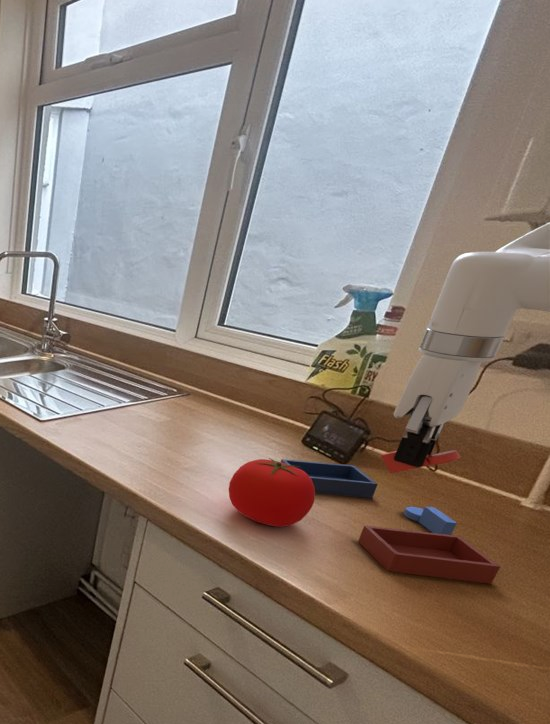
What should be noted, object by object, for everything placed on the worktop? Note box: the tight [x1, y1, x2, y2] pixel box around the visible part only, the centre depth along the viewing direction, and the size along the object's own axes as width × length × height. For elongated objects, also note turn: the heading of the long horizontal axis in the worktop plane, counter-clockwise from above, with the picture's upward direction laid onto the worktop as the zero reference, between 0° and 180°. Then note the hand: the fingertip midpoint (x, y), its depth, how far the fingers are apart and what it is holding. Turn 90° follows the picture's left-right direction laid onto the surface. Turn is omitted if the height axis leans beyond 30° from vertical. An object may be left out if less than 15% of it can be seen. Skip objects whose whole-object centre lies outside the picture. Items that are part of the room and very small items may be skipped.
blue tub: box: [280, 458, 379, 499], centre depth 100 cm, size 12×8×3 cm, turn 76°
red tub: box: [357, 525, 501, 585], centre depth 78 cm, size 12×8×3 cm, turn 76°
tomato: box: [228, 457, 316, 527], centre depth 88 cm, size 11×12×10 cm
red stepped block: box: [380, 449, 461, 474], centre depth 79 cm, size 8×3×3 cm
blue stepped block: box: [403, 506, 458, 535], centre depth 87 cm, size 8×3×3 cm, turn 167°
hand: (409, 461), depth 80 cm, fingers closed on red stepped block, 1 cm apart
